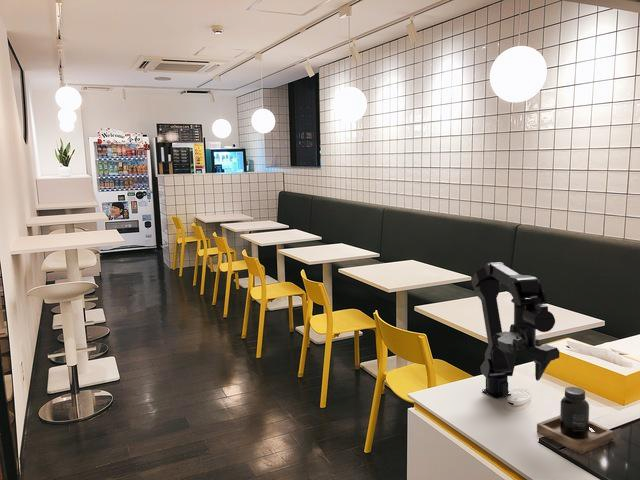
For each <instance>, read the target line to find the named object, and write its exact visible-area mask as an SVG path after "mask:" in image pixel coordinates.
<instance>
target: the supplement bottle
mask: <svg viewBox="0 0 640 480" xmlns="http://www.w3.org/2000/svg"><path fill="white" fill-rule="evenodd" d="M559 407H560V408H559V409H560V410H559V411H560V412H559V413H560V414H559V415H560V430H561V432H562V433H563V434H564V435H566V436H568V437H570V438H574V439H584V438H586V437H587V436H588V434H589V421H590V404H589V402H588V401H587V400H586V391H585V389H583V388H580V387H575V386H568V387H566V388H565V389H564V396H563V398H561V400H560V406H559Z"/></svg>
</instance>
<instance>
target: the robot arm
mask: <svg viewBox="0 0 640 480" xmlns="http://www.w3.org/2000/svg"><path fill="white" fill-rule="evenodd" d="M501 284H503V285H504V286H506V287H508V293H509V295H511V296H512V298H511V303H513V323H511V324H510V326H509V331H503V328H502V323H501V317H500V311H499V304H498V296H499V293H500V292H501ZM471 285H472V287H473V291H474V293H475V295H476V297H478V299H480V302H481V308H482V313H483V314H482V315H483V320H484V324H485V325H484V327H485V333H486V339H487V344H488V346H487V348H486V350H485V353H484V361H483V362H482V364H481V365H480V366H479V367H480V373H481V375H483V376H484V377H485V388H484V389H481V391H483V390H484V392H486V393H488V394H489V395H488V394H487V395H488V396H490V395H491V396H490V397H492V396H493V398H494V397H495V398H494V399H500V397H501V398H503V396H504V397H506V396H505V395H507V394H508V393H509V392H510V391H509V382H508V379H509V378H508V377H513V374H514V371H515V367H516V366H515V365H516V358H517V357H516V356H517V351H521V350H526V351H529V352H532V356H533V358H532V361H533V362H534V363H535V364H534V365H535V366H534V367H535V371H534V372H535V373H534V376H535V380H536V381H537V382H539V381H540V380H541V378H542V377H543V375H544V372H545V371H546V370H547V367H548V366H549V364H550V363H551V362H552V361H555V360H556V359H560V350H559V348H557V347H556V346H552V345H549V344H543V345H539V346H538V345H536V344H539V342H540V340H539V339H538V338H536V336H537V335H536V332H537V331H538V332H539V333H540V332H541V333H547V332H550V331H552V329H553V328H554V326H555V325H556V318H555V315H554V314H553V313H552V312H551V311H549V307H548V305H547V304H548V301H547V295H546V293H545V292H544V289H543V287H542V284H541V282H540V280H539V279H538V278H537V277H536V276H533V275H525V274H524V275H523V274H519V273H518V272H516V271H515V270H513V269H511V268H509V267H508V266H507V265H505V264H504V262H501V261H499V262H498V261H497V262H488V263H486V264H485V266H484V267H482V268H480V269H479V270H477V271H476V272H475V273H474V274H473V276H472V277H471ZM536 330H537V331H536ZM484 392H483V393H484ZM486 393H485V394H486ZM507 396H508V395H507Z"/></svg>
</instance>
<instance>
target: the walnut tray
mask: <svg viewBox="0 0 640 480" xmlns="http://www.w3.org/2000/svg"><path fill="white" fill-rule="evenodd" d="M589 427H590V428H592V429H593V430H594V431H595V432H590V431H589V434H588V436H587V437H586V438H584V439H574V438H570V437H568V436H566V435H564V434H563V433H562V432H561V430H560V414H559V415H557V416H554V417H551V418H549V419H547V420H544V421H540V422H538V423H536V433H537V434H539V435H541V436H543V437H545V436H548V437H549V438H552V439H553V440H555V441H557V442H559V443H560V444H562V445H563V447H564V446H565V447H564V448H566V447H567V448H566V449H568V448H569V449H568V450H570V449H571V450H570V451H572V450H573V451H572V452H574V451H575V453H576V452H577V453H576V454H578V453H579V454H578V455H580V454H581V455H584V454H585V452H586V453H588V452H590V451H593V450H595V449H597V448H599V447H598V446H600V445H602V446H604V445H606V444H605V443H607V442H609V441H611V442H613V441H614V433H615V432H614V431H613V430H611V429H608V428H606V427H604V426H602V425H600V424H597V423H595V422H593V421H591V420H589ZM549 438H548V439H549ZM553 440H552V441H553ZM612 440H613V441H612ZM555 441H554V442H555ZM557 442H556V443H557ZM559 443H558V444H559ZM609 443H610V442H609ZM560 444H559V445H560ZM603 444H604V445H603ZM607 444H608V443H607ZM562 445H561V446H562ZM596 447H597V448H596ZM600 447H601V446H600ZM594 448H595V449H594ZM592 449H593V450H592ZM587 451H588V452H587Z"/></svg>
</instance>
